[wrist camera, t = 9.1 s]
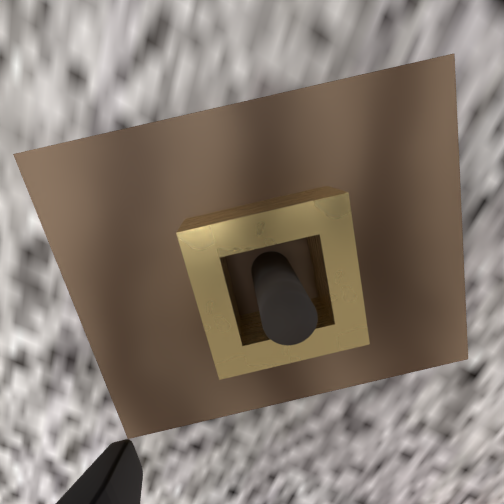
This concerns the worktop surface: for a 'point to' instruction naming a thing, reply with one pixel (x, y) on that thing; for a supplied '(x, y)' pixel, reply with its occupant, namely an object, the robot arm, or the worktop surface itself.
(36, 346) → the worktop surface
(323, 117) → the keeper base
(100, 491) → the robot arm
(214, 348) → the brass link
